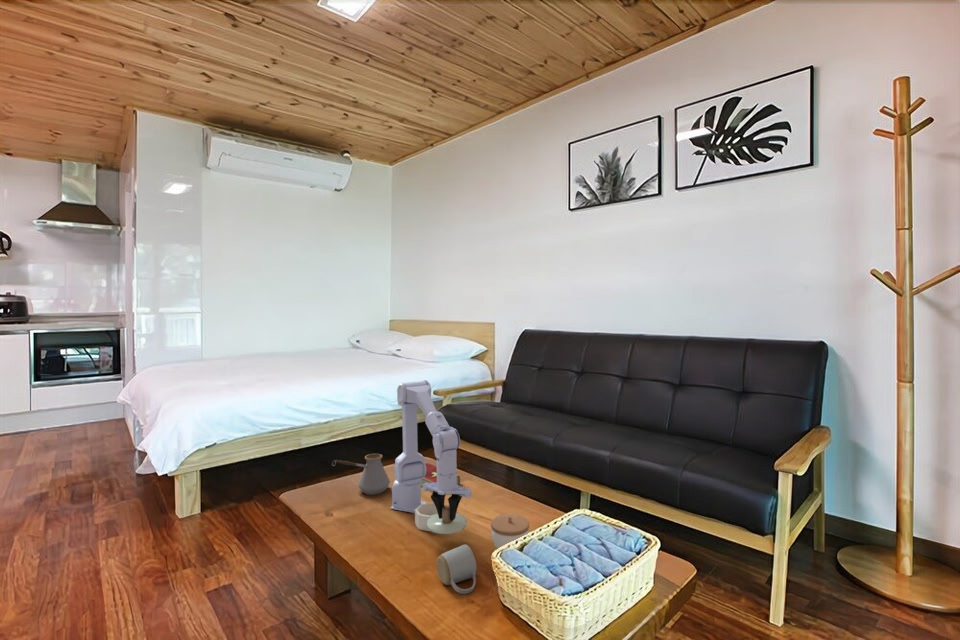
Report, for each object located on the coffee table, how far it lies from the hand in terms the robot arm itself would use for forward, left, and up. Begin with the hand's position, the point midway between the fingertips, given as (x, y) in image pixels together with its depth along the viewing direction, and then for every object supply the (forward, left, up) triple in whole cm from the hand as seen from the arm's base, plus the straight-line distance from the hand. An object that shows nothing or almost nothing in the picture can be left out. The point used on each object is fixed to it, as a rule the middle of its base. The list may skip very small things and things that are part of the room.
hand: (447, 518), depth 134 cm
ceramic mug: (+11, -16, -8) cm, 21 cm away
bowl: (-10, +9, -7) cm, 15 cm away
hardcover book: (-26, +40, -8) cm, 48 cm away
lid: (0, 0, -2) cm, 2 cm away
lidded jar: (+18, +3, -8) cm, 20 cm away
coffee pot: (-44, +20, -8) cm, 49 cm away
